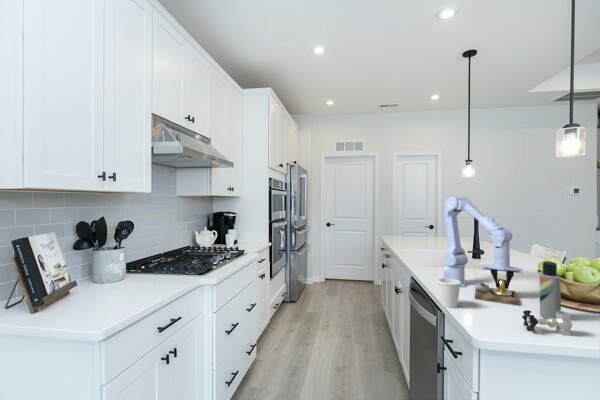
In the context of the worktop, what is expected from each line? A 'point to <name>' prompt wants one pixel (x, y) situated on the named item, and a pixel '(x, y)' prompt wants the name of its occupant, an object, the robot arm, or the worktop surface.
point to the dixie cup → (449, 292)
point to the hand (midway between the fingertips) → (502, 287)
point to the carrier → (485, 294)
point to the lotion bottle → (549, 291)
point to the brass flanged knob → (502, 289)
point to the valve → (550, 322)
